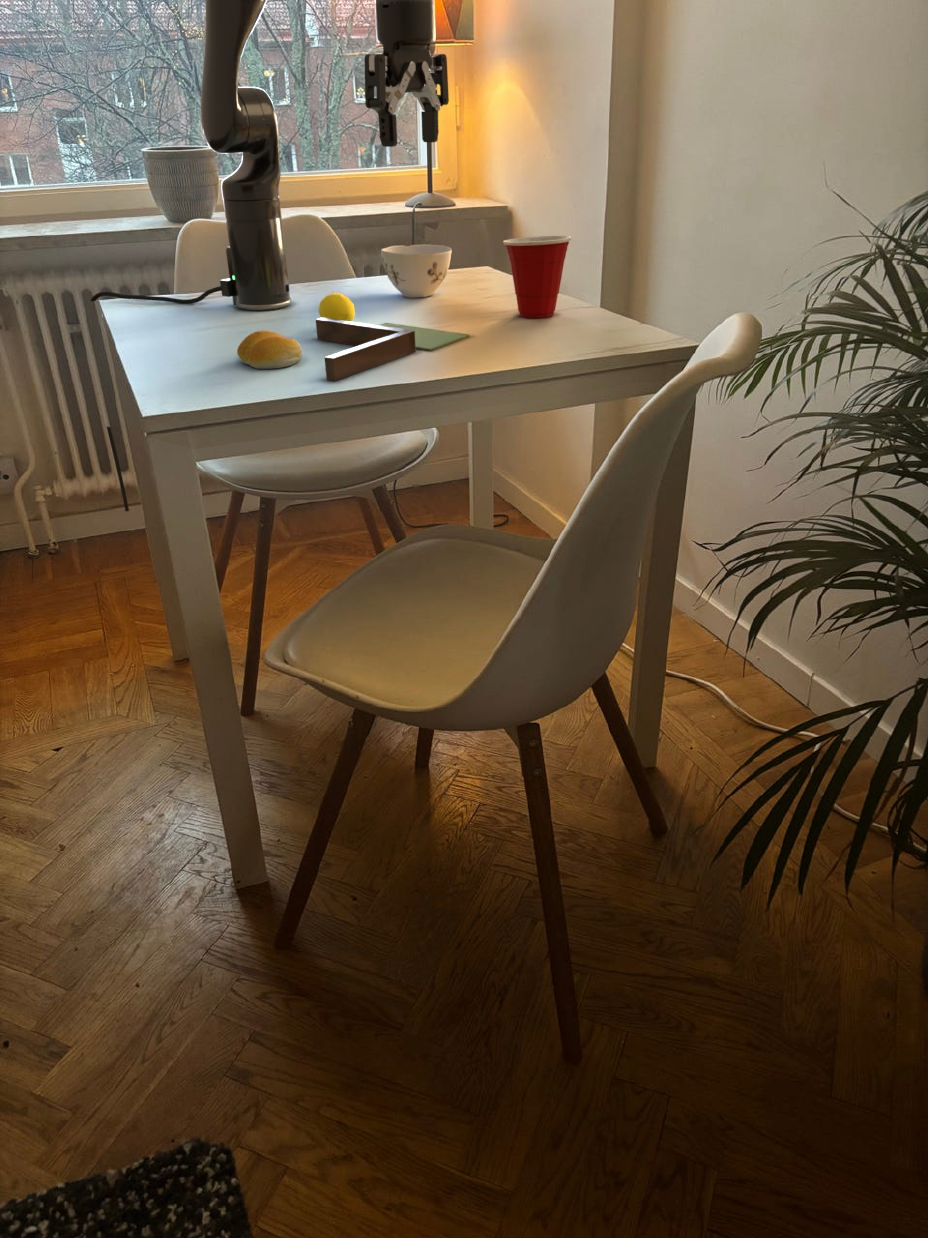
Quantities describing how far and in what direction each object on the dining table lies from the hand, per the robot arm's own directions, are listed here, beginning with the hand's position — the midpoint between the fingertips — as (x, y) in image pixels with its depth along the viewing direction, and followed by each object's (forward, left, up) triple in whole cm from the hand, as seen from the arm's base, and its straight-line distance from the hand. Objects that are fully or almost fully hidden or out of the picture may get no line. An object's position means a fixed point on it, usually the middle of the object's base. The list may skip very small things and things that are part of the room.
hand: (410, 144), depth 126 cm
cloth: (-3, +1, -26) cm, 27 cm away
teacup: (-22, +28, -26) cm, 45 cm away
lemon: (-16, 0, -26) cm, 31 cm away
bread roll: (-11, -20, -26) cm, 35 cm away
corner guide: (-5, -14, -26) cm, 30 cm away
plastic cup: (+6, +24, -26) cm, 36 cm away
